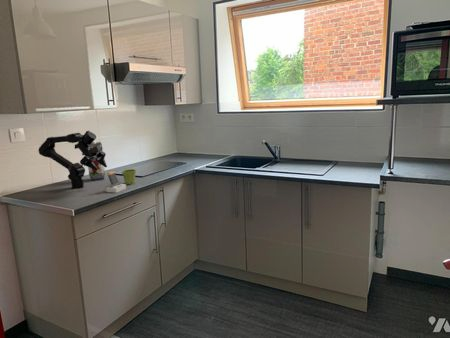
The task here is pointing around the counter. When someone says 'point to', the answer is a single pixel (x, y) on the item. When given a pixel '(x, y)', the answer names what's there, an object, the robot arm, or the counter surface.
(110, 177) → the rocker lever
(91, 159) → the robot arm
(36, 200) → the counter surface
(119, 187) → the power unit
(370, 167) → the counter surface
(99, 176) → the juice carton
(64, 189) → the counter surface
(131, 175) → the plant pot
